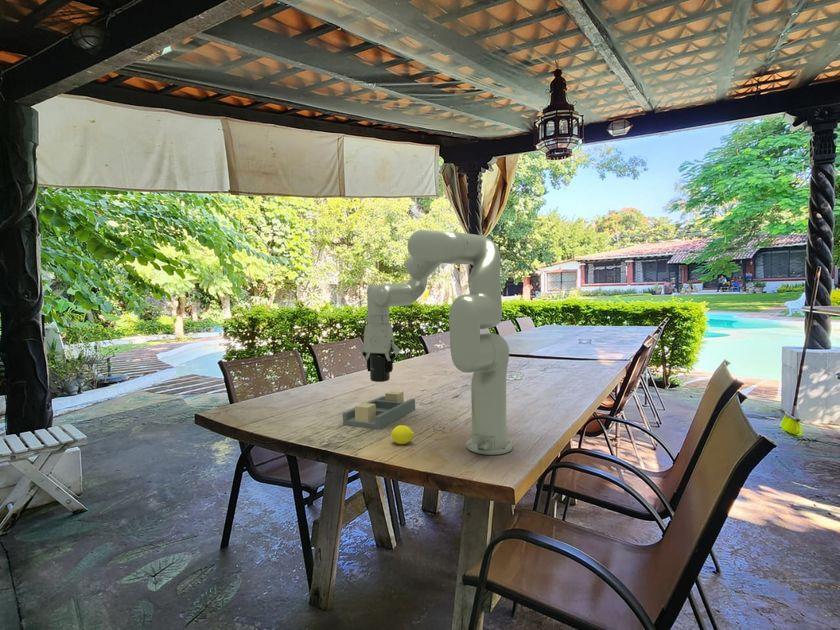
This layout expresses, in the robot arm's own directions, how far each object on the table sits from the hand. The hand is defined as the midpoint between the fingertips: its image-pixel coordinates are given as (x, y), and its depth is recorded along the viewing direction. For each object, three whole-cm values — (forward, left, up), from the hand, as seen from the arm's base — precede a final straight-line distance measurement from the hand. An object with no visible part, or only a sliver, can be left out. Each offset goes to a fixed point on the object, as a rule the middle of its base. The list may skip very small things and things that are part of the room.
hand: (379, 371), depth 156 cm
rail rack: (0, 0, -16) cm, 16 cm away
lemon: (-22, -20, -17) cm, 34 cm away
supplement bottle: (0, 0, -3) cm, 3 cm away
